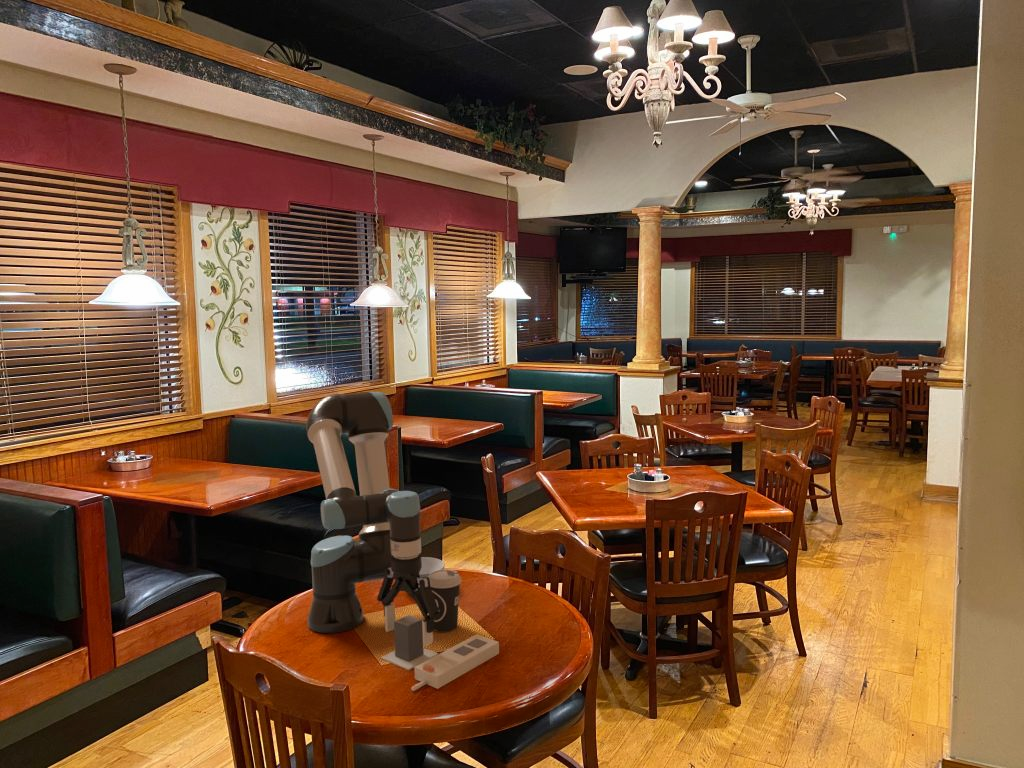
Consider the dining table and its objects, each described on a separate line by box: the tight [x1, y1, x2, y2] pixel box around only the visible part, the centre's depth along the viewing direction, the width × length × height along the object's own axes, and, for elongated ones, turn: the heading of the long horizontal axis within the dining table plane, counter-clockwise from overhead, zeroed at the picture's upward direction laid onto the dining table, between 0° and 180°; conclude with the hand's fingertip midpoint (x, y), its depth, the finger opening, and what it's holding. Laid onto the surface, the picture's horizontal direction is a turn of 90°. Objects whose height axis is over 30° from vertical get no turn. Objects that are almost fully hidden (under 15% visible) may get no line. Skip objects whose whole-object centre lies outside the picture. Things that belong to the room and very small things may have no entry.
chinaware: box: [415, 556, 445, 591], centre depth 235 cm, size 15×15×8 cm
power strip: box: [411, 634, 500, 692], centre depth 184 cm, size 26×8×4 cm, turn 141°
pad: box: [380, 647, 439, 671], centre depth 192 cm, size 10×10×1 cm
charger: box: [393, 614, 424, 662], centre depth 191 cm, size 5×5×9 cm
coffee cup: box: [428, 568, 463, 633], centre depth 208 cm, size 10×10×15 cm
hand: (408, 636), depth 191 cm, fingers open, 13 cm apart
